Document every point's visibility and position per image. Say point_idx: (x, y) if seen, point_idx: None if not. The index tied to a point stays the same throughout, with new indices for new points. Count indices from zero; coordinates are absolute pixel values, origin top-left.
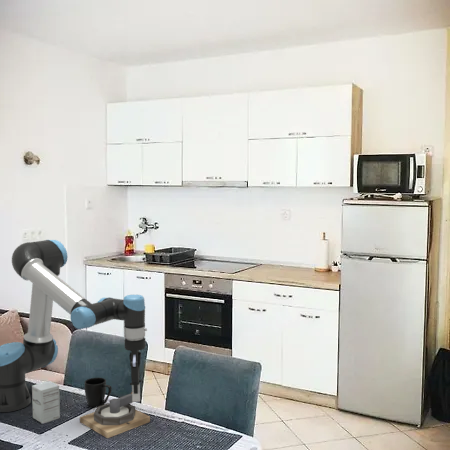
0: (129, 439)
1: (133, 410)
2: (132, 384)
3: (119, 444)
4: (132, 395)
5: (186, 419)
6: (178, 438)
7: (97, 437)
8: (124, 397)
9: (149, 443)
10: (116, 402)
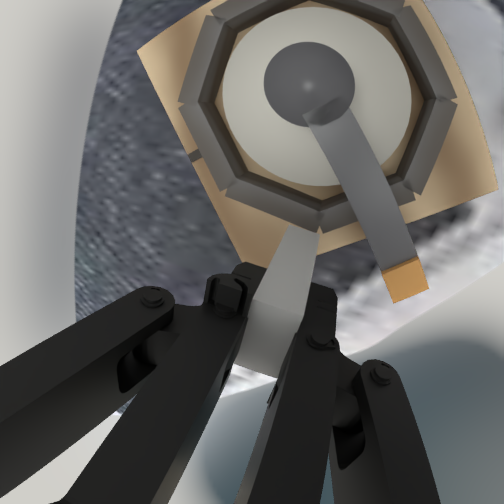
0: (121, 144)
1: (263, 208)
2: (141, 295)
3: (97, 105)
4: (278, 246)
5: (234, 380)
6: (108, 304)
7: (175, 13)
8: (351, 180)
9: (86, 212)
10: (265, 93)
